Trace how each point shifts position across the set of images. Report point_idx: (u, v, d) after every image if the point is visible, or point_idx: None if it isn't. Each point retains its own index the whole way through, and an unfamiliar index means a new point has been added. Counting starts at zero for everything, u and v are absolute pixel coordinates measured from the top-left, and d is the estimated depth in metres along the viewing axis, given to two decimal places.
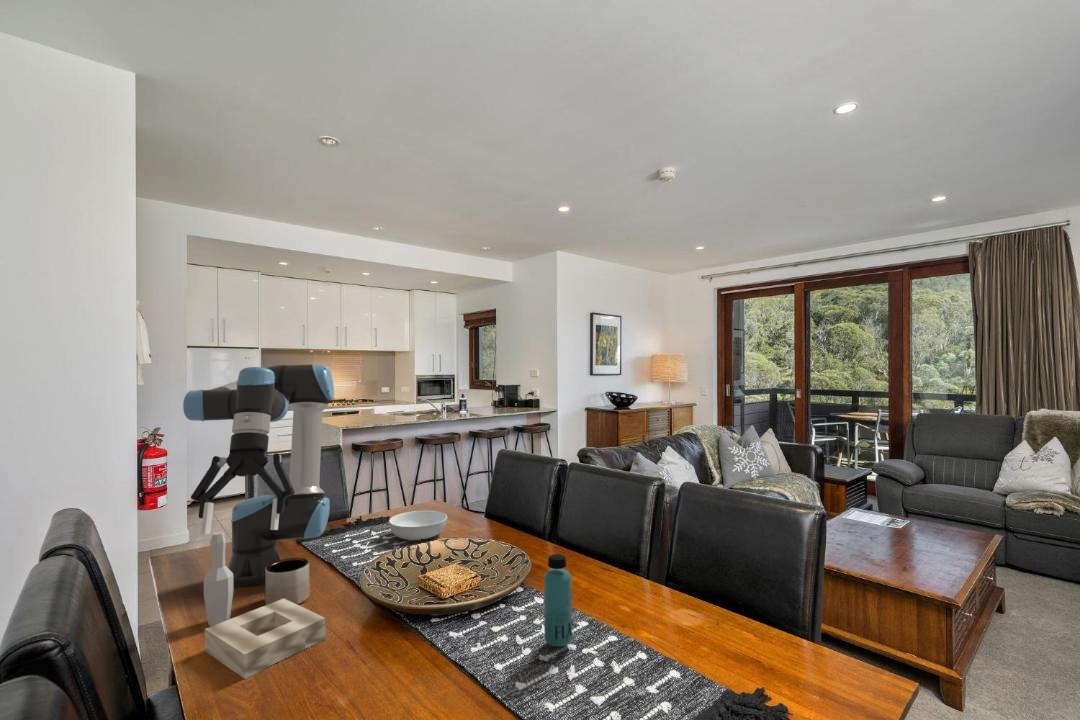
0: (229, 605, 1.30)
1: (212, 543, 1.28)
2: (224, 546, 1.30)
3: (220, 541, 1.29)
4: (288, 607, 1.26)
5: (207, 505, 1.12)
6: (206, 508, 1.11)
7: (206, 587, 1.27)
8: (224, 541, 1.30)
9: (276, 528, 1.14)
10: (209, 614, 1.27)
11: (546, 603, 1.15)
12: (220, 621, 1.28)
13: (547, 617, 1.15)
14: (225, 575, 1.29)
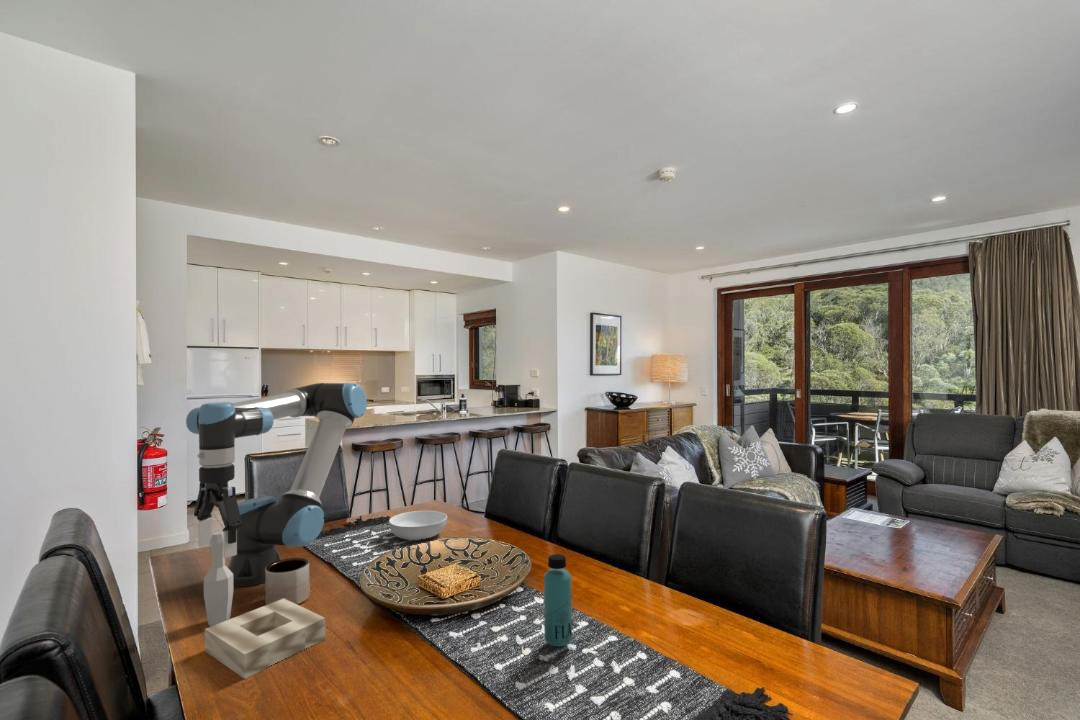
0: (229, 605, 1.30)
1: (212, 543, 1.28)
2: None
3: (220, 541, 1.29)
4: (288, 607, 1.26)
5: (199, 523, 1.32)
6: (199, 526, 1.32)
7: (206, 587, 1.27)
8: None
9: (231, 555, 1.26)
10: (209, 614, 1.27)
11: (546, 603, 1.15)
12: (220, 621, 1.28)
13: (547, 617, 1.15)
14: (225, 575, 1.29)
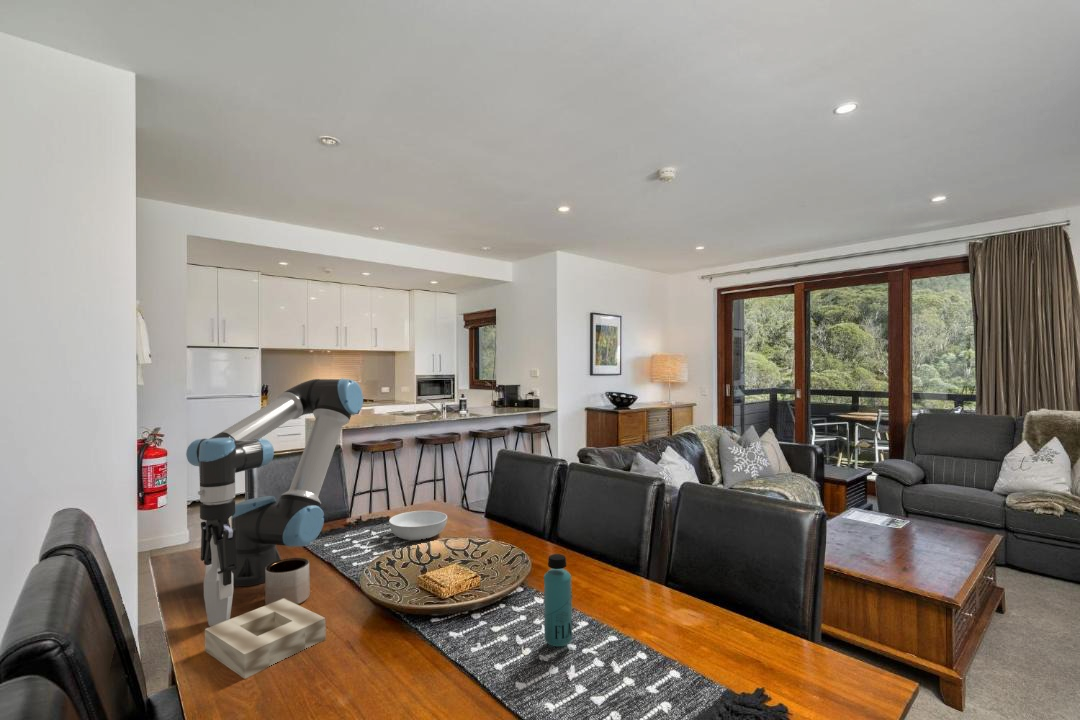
0: (229, 605, 1.30)
1: (212, 543, 1.28)
2: None
3: None
4: (288, 607, 1.26)
5: (206, 568, 1.31)
6: (206, 571, 1.31)
7: (206, 587, 1.27)
8: None
9: (227, 596, 1.28)
10: (209, 614, 1.27)
11: (546, 603, 1.15)
12: (220, 621, 1.28)
13: (547, 617, 1.15)
14: None
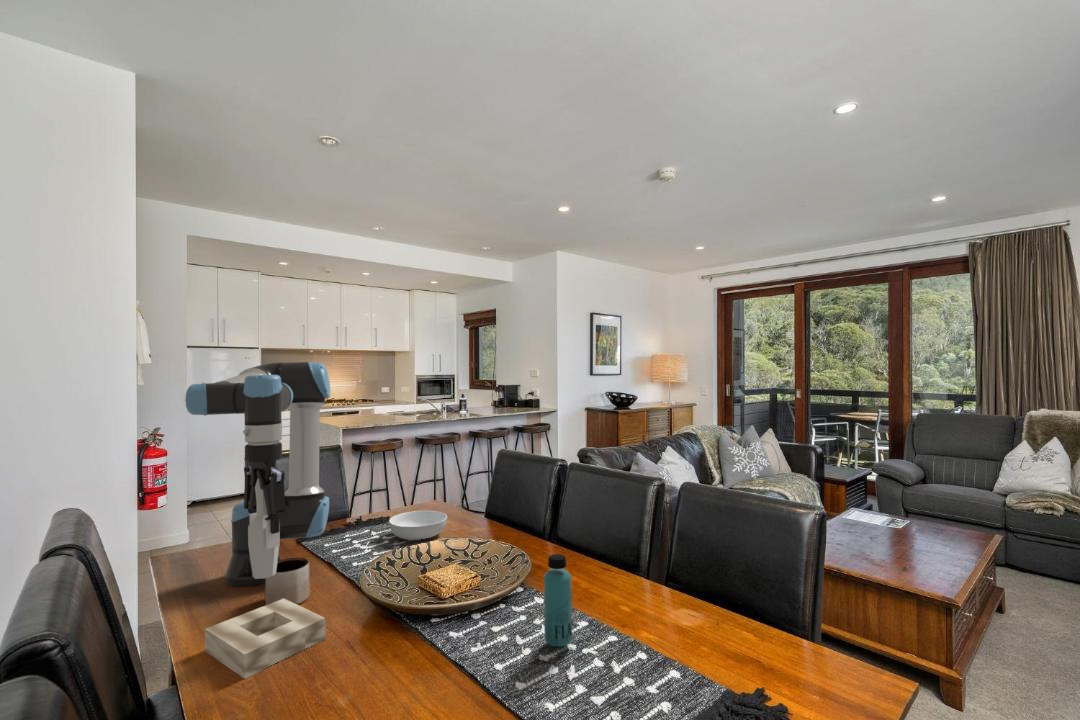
0: (275, 556, 1.18)
1: (257, 488, 1.17)
2: None
3: None
4: (288, 607, 1.26)
5: (250, 517, 1.19)
6: (250, 519, 1.19)
7: (251, 535, 1.15)
8: None
9: (274, 545, 1.16)
10: (255, 565, 1.16)
11: (546, 603, 1.15)
12: (266, 573, 1.17)
13: (547, 617, 1.15)
14: None
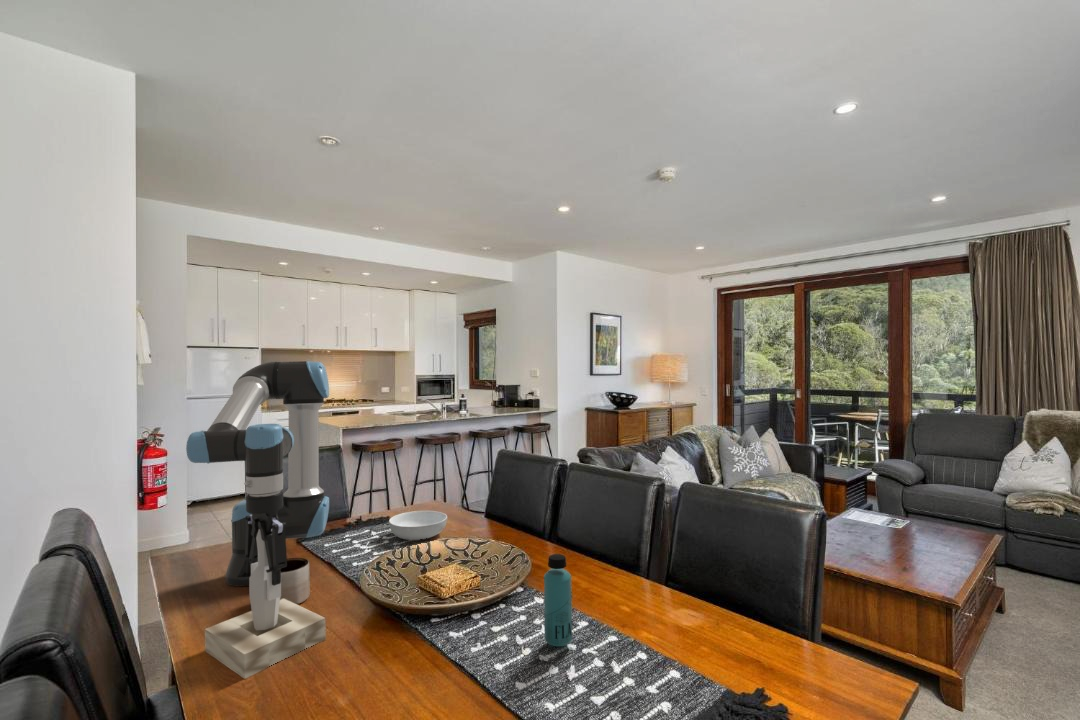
0: (277, 607, 1.18)
1: (259, 539, 1.17)
2: None
3: None
4: (288, 607, 1.26)
5: (252, 567, 1.19)
6: (251, 569, 1.19)
7: (253, 587, 1.15)
8: None
9: (276, 597, 1.16)
10: (256, 617, 1.16)
11: (546, 603, 1.15)
12: (268, 624, 1.16)
13: (547, 617, 1.15)
14: None
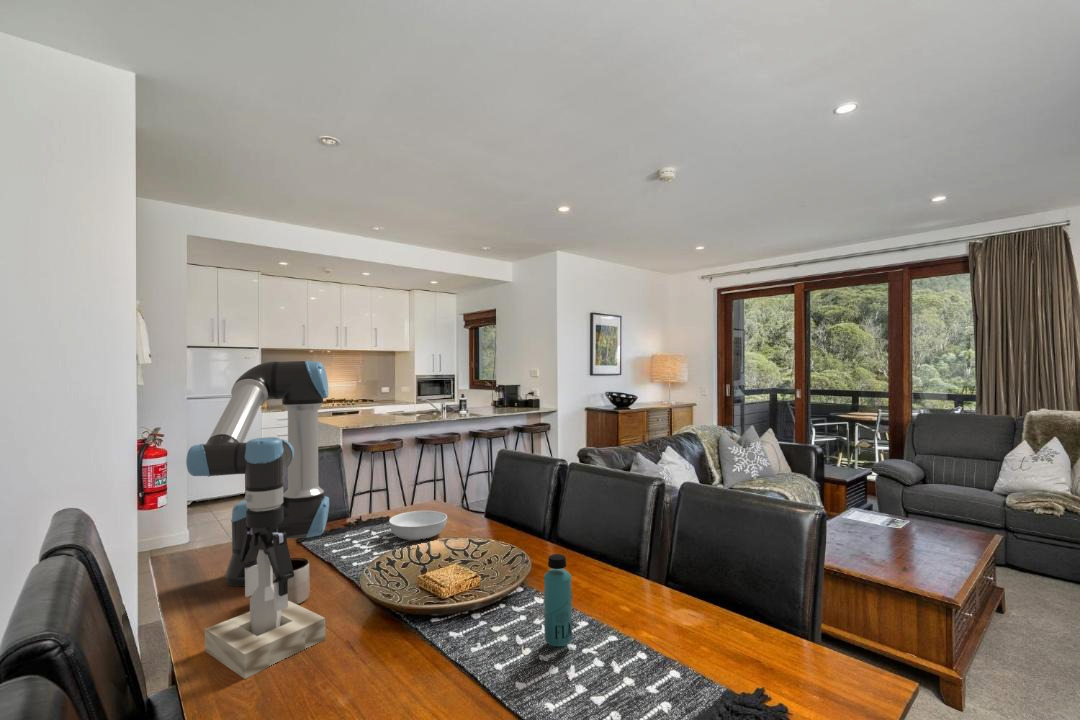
0: (277, 627, 1.18)
1: (259, 560, 1.17)
2: None
3: None
4: (288, 607, 1.26)
5: (246, 571, 1.21)
6: (245, 574, 1.21)
7: (253, 608, 1.15)
8: None
9: (282, 607, 1.15)
10: None
11: (546, 603, 1.15)
12: None
13: (547, 617, 1.15)
14: None
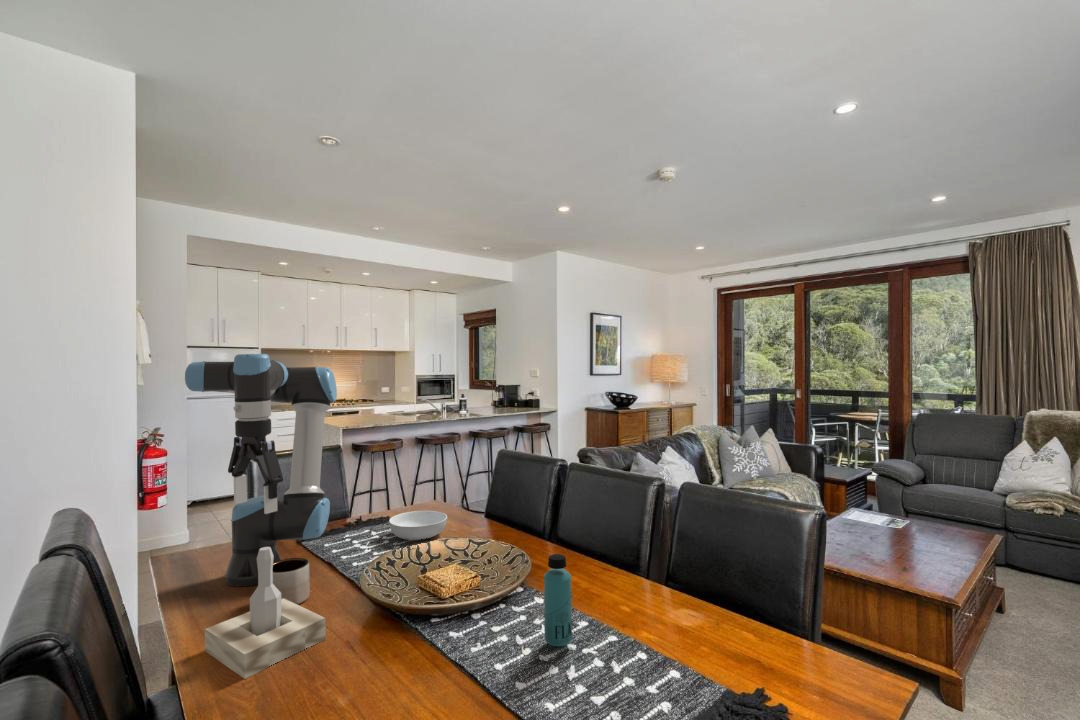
0: (277, 627, 1.18)
1: (259, 560, 1.17)
2: (272, 563, 1.19)
3: (268, 557, 1.17)
4: (288, 607, 1.26)
5: (234, 480, 1.27)
6: (234, 482, 1.27)
7: (253, 608, 1.15)
8: (272, 557, 1.18)
9: (272, 511, 1.21)
10: None
11: (546, 603, 1.15)
12: None
13: (547, 617, 1.15)
14: (273, 594, 1.17)
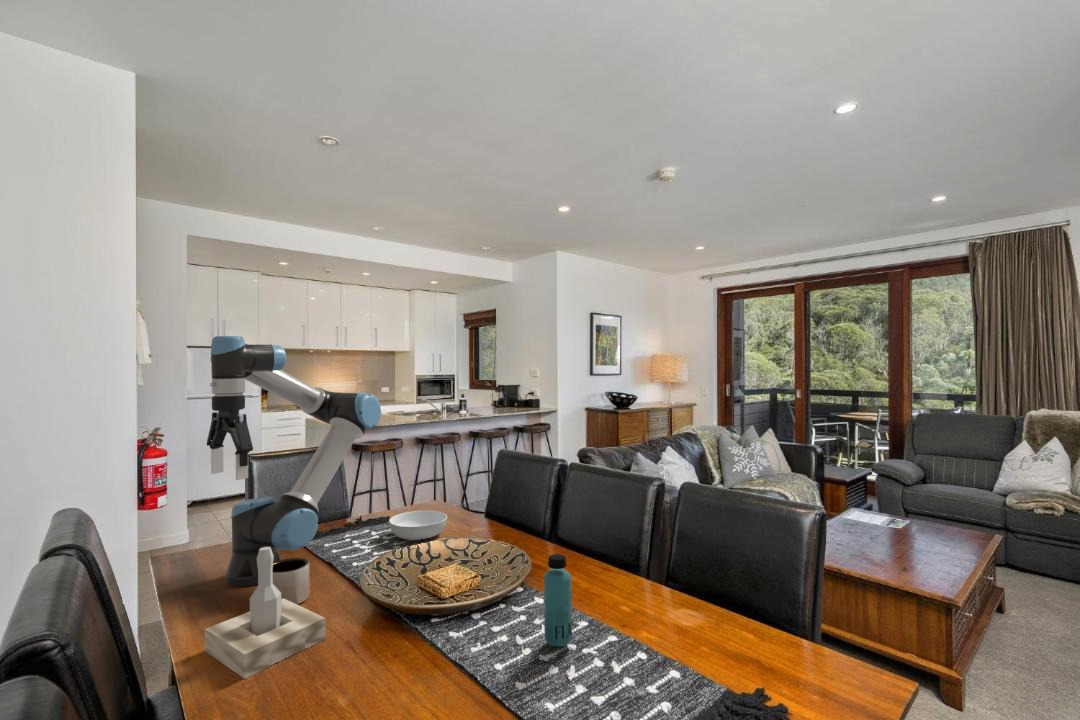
0: (277, 627, 1.18)
1: (259, 560, 1.17)
2: (272, 563, 1.19)
3: (268, 557, 1.17)
4: (288, 607, 1.26)
5: (212, 451, 1.40)
6: (212, 454, 1.40)
7: (253, 608, 1.15)
8: (272, 557, 1.18)
9: (243, 477, 1.33)
10: None
11: (546, 603, 1.15)
12: None
13: (547, 617, 1.15)
14: (273, 594, 1.17)
